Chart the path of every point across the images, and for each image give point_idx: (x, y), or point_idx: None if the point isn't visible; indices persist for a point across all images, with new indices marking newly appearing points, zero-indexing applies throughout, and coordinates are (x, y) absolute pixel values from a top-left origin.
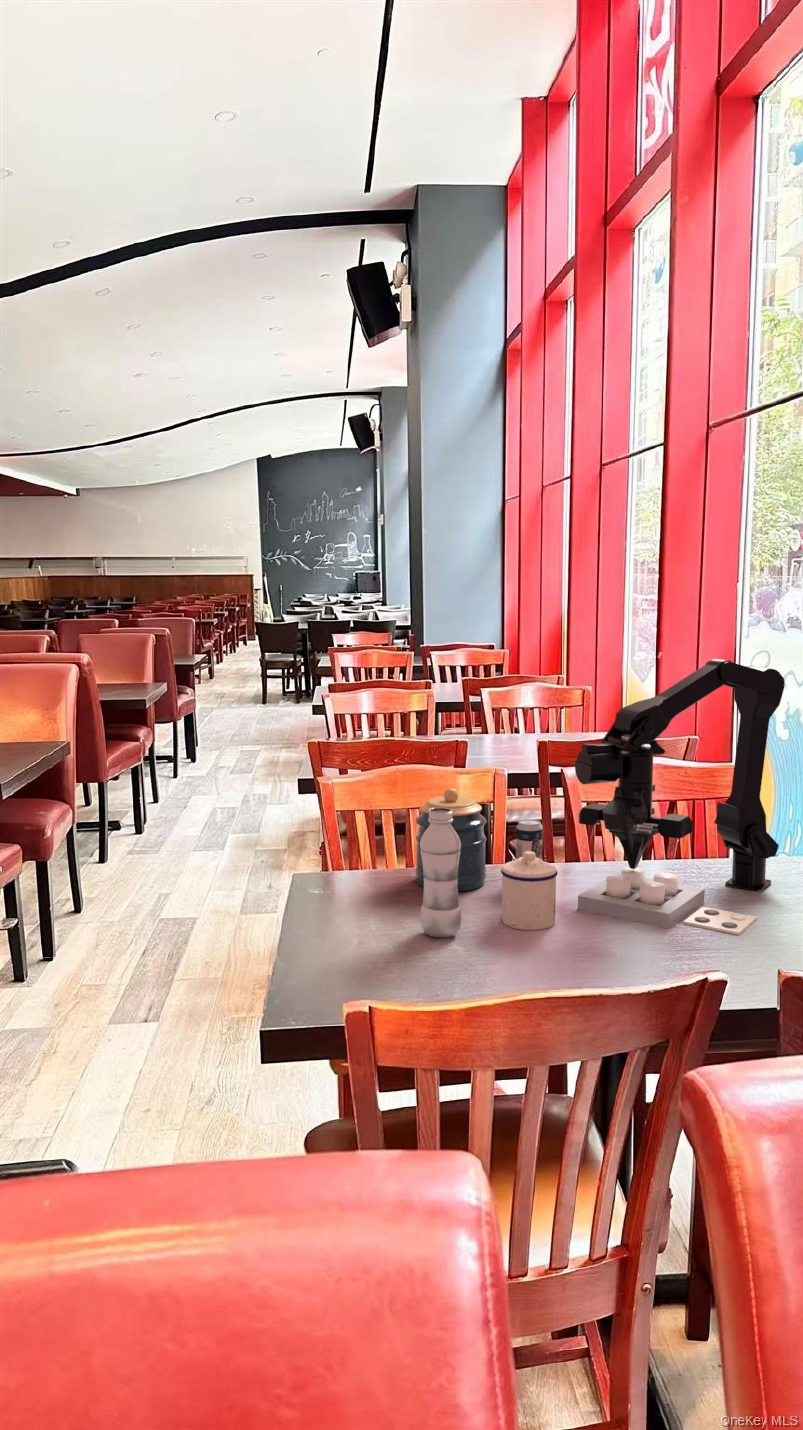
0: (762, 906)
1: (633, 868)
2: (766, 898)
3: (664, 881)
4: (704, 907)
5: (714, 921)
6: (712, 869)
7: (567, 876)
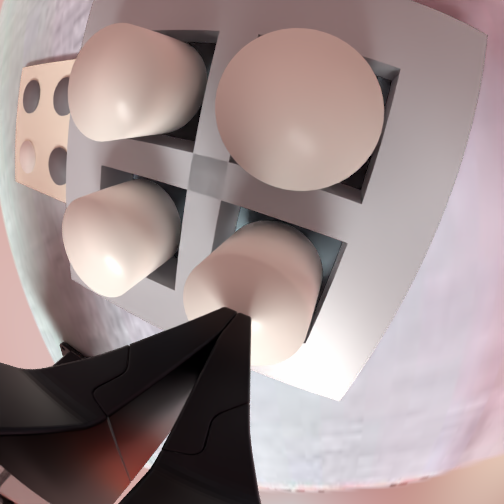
0: (34, 264)
1: (227, 308)
2: (47, 310)
3: (91, 195)
4: None
5: (49, 104)
6: None
7: (480, 407)
